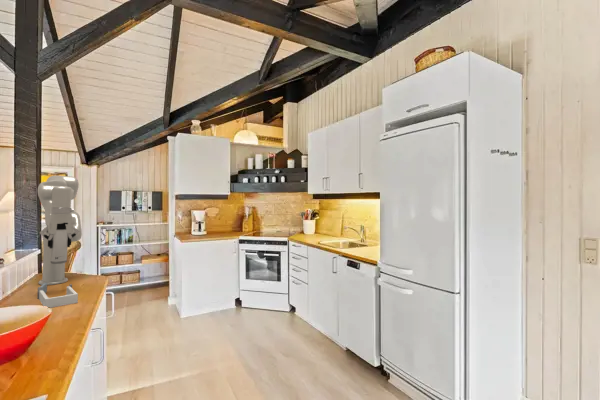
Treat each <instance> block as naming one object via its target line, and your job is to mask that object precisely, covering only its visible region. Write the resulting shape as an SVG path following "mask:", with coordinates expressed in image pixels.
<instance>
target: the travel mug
mask: <svg viewBox="0 0 600 400" xmlns="http://www.w3.org/2000/svg"><path fill="white" fill-rule="evenodd" d="M65 224H68V223H63V224H57V229H56V232H55V234H54V235H53V237H52V248H51V263H52V264H61V263H65V264H66V263H67V261H68V247H67V246H68V234H67V231H66V230H67V229H66V225H65Z"/></svg>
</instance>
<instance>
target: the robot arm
mask: <svg viewBox="0 0 600 400" xmlns="http://www.w3.org/2000/svg"><path fill="white" fill-rule="evenodd" d="M79 186H80V184H79V180H78V178H77V177H75V176H72V175H71V176H70V175H69V176H68V175H51V176H49V177H48V178H47V179H46V181H42V182H40V183H39V184H38V187H37V196H38V198H39V201H40V203H41V206H42V208H43V209H44V221H45V225H46V226H45V227H44V228H43V229H42V230H40V231H39V235H41V236H42V244H43V246H42V247H43V257H42V259H43V261H42V278H41V279H40V280H39V281H38V285H41V286H42V285H43V284H44V283H47V286H53V285H59V284H63V283H66V282H68V281H69V279H68V277H65V273H66V263H61V264H52V263H51V248H52V237H53V235H54V234H55V232H56V229H57V224H63V223H68V224H65V225H66V229H67V230H66V231H67V234H68V246H67V248H70V247H71V246H72V243H73V242H78V241H79V240H81V239H82V236H83V233H82V223H81V217H80V215H79V213H78V212H76V211H75V209H74V208H72V205H71V204H72V200H74V199H76V197H77V195H78V190H79Z"/></svg>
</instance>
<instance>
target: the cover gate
mask: <svg viewBox="0 0 600 400" xmlns="http://www.w3.org/2000/svg"><path fill="white" fill-rule="evenodd" d="M40 290H43V291H44V293H45V294H46V293H47V292H48V285H47V283H44V284H43V285H41V286H39V287H38V286H37V293H36V294H37V295H36V298H37V300H39V291H40Z"/></svg>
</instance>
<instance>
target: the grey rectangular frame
mask: <svg viewBox="0 0 600 400" xmlns="http://www.w3.org/2000/svg"><path fill="white" fill-rule="evenodd" d="M38 300H39V302H40V304H41V305H42V306H43V307H44V306H47V307H50V308H49V309H51V308H57V307H61V306H68V305H73V304H78V302H79V293H78V292H76V291H75V290H74V289H73V283H70V284H69V285H68V286H66V294H65V295H59V296H53V297H49V296H48V295H47V294H46V293H44V291H43V290H40V291H39V299H38Z"/></svg>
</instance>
